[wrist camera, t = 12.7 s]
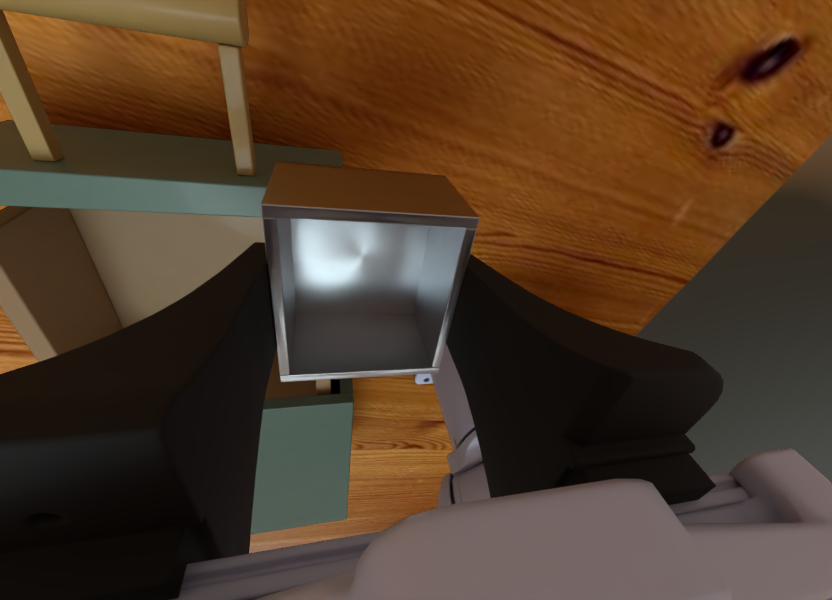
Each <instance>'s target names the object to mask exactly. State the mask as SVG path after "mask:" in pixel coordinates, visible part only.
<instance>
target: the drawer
mask: <svg viewBox="0 0 832 600" xmlns="http://www.w3.org/2000/svg"><path fill="white" fill-rule="evenodd" d="M2 10H6V11H12V12H19V13H25V14H32V15H38V16H45V17H51V18H58V19H64V20H70V21H77V22H83V23H90V24H96V25H103V26H109V27H116V28H122V29H128V30H135V31H141V32H148V33H154V34H161V35H167V36H174V37H180V38H186V39H193V40H199V41H206V42H212V43H219V45H218V53H219V59H220V66H221V72H222V79H223V85H224V92H225V98H226V105H227V111H228V118H229V124H230V131H231V137H232V141H228V140H217V139H207V138H196V137H185V136H175V135H164V134H154V133H143V132H132V131H122V130H111V129H101V128H90V127H79V126H69V125H58V124H50V121H49V119H48V117H47V114H46V112H45V110H44V107H43V105H42V102H41V100H40V98H39V95H38V93H37V91H36V88H35V86H34V84H33V81H32V79H31V76H30V74H29V72H28V69H27V67H26V65H25V62H24V60H23V58H22V55H21V53H20V51H19V48H18V46H17V43H16V41H15V39H14V36H13V34H12V32H11V29H10V27H9V25H8V22H7V20H6V17H5V15H4V13H3V11H2ZM248 39H249V31H248V19H247V11H246V6H245V1H244V0H0V93H1V95H2V97H3V99H4V101H5V103H6V105H7V107H8V109H9V111H10V114H11V116H12V118H13V120H6V121H2V122H0V205H2V206H7V207H5V208H4V209H2V210H0V307H1V308H2V310H3V311H4V312H5V314H6V315H7V317H8V318H9V320H10V321H11V323H12V324H13V325H14V327H15V328H16V330H17V331H18V333H19V334H20V336H21V337H22V339H23V340H24V341H25V343H26V344H27V346H28V347H29V349H30V350H31V352H32V353H33V354H34V356H35V357H36V359H37V360H38V362H40V361H43V360H46V359H49V358H52V357H54V356H57V355H60V354H62V353H65V352H68V351H71V350H73V349H76V348H79V347H81V346H84V345H86V344H89V343H91V342H94V341H96V340H98V339H101V338H103V337H106V336H108V335H110V334H113V333H115V332H117V331H119V330H121V329H123V328H125V327H128V326H130V325H132V324H134V323H136V322H138V321H140V320H142V319H145V318H147V317H149V316H151V315H153V314H155V313H157V312H158V311H160V310H162V309H164V308H166V307H167V306H169V305H171V304H173V303H174V302H176V301H178V300H179V299H181V298H183V297H184V296H186V295H187V294H189V293H191V292H192V291H194V290H195V289H196V288H198V287H199V286H201V285H202V284H203V283H205V282H206V281H208V280H209V279H210V278H212V277H213V276H215V275H216V274H217V273H219V272H220V271H221V270H222V269H224V268H225V267H226V266H227V265H229V264H230V263H231V262H232V261H233V260H235V259H236V258H237V257H238V256H239V255H240V254H242V253H243V252H244V251H245V250H246V249H247V248H249V247H250V246H251V245H252V244H253V243H255V242H264V243H265V240H264V232H263V223H262V214H261V202H262V200H263V197H264V194H265V191H266V189H267V186H268V183H269V181H270V178H271V175H272V172H273V170H274V167H275V164H276V161H287V162H298V163H309V164H320V165H331V166H342V167H344V166H343V159H342V152H341V151H334V150H323V149H313V148H302V147H292V146H281V145H270V144H260V143H253V136H252V128H251V120H250V111H249V103H248V95H247V86H246V78H245V70H244V62H243V53H242V48H241V47H247V45H248ZM330 394H331V379H327V380H309V381H292V382H281V381H280V374H279V365H278V356H277V347H276V351H275V355H274V360H273V364H272V368H271V372H270V377H269V381H268V385H267V389H266V395H265V399H275V398H289V397H303V396H316V395H330Z"/></svg>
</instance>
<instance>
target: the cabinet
mask: <svg viewBox="0 0 832 600" xmlns="http://www.w3.org/2000/svg"><path fill="white" fill-rule="evenodd" d="M353 405H354V400H353V387H352V378H344V379H331V394H330V395H316V396H303V397H289V398H275V399H265V400H264V406H263V414H262V422H261V431H260V440H259V449H258V458H257V468H256V478H255V489H254V499H253V510H252V522H251V534H256V533H263V532H269V531H275V530H282V529H288V528H294V527H300V526H307V525H313V524H319V523H325V522H332V521H338V520H344V519H347V506H348V489H349V473H350V456H351V439H352V422H353Z"/></svg>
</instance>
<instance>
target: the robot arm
mask: <svg viewBox="0 0 832 600" xmlns="http://www.w3.org/2000/svg"><path fill="white" fill-rule="evenodd" d="M275 351H276V338H275V329H274V321H273V312H272V303H271V294H270V285H269V276H268V267H267V258H266V249H265V243H264V242H255V243H253V244H252V245H251V246H250V247H249V248H247V249H246V250H245V251H244V252H243V253H242V254H240V255H239V256H238V257H237V258H236V259H235V260H233V261H232V262H231V263H230V264H229V265H227V266H226V267H225V268H224V269H222V270H221V271H220V272H219V273H217V274H216V275H215V276H213V277H212V278H210V279H209V280H208V281H206V282H205V283H203V284H202V285H201V286H199V287H198V288H196V289H195V290H194V291H192V292H191V293H189V294H187V295H186V296H184V297H183V298H181V299H179V300H178V301H176V302H174V303H173V304H171V305H169V306H167V307H166V308H164V309H162V310H160V311H158V312H157V313H155V314H153V315H151V316H149V317H147V318H145V319H142V320H140V321H138V322H136V323H134V324H132V325H130V326H128V327H125V328H123V329H121V330H119V331H117V332H115V333H113V334H110V335H108V336H106V337H103V338H101V339H98V340H96V341H94V342H91V343H89V344H86V345H84V346H81V347H79V348H76V349H73V350H71V351H68V352H65V353H62V354H60V355H57V356H54V357H52V358H49V359H46V360H43V361H40V362H37V363H35V364H31V365H28V366H25V367H22V368H19V369H16V370H12V371H9V372H6V373H3V374H0V600H832V483H831V482H830V481H828V480H827V479H826V478H825V477H824V476H823V475H822V474H821V473H819V472H818V471H817V470H816V469H815V468H814V467H813V466H812V465H811V464H809V463H808V462H807V461H806V460H805V459H804V458H803V457H802V456H800V455H799V454H798V453H797V452H796V451H795V450H794V449H789V448H785V449H779V450H773V451H766V452H760V453H756V454H753V455H751V456H749V457H747V458H745V459H744V460H742V461H741V462H740V463H738V464H737V465H736V466H735V467H733V468H732V469H731V472H730V473H725V474H719V475H713V476H708V475H707V474H706V473H705V472H704V471H703V470H702V469H701V467H700V466H699V465H698V464H697V463H696V462H695V460H694V459H693V458H692V457H691V456H690V455H689V453H692V452H693V451H694V450H695V445H694V444H693V443H692V442H691V441H690V440H689V438H688V437H687V436H686V435H685V433H686V432H687V431H688V430H689V429H690V428H691V427H692V426H693V425H695V424H696V423H697V421H699V420H700V419H701V418H702V416H704V415H705V414H706V413H707V412H708V410H710V409H711V407H712V406H713V405H714V404H715V403H716V401H717V400H718V399H719V397H720V395H721V393H722V389H723V378H722V377H721V375H720V374H719V373H718V372H717V371H716V370H715V369H714V368H713V367H712V366H710V365H709V364H708V363H707V362H706V361H705V360H703V359H702V358H701V357H700V356H698V355H697V354H695V353H693V352H691V351H687V350H683V349H679V348H675V347H672V346H668V345H664V344H659V343H656V342H652V341H648V340H644V339H641V338H638V337H635V336H632V335H629V334H625V333H622V332H619V331H616V330H613V329H610V328H608V327H605V326H602V325H599V324H597V323H594V322H592V321H589V320H587V319H584V318H582V317H579V316H577V315H574V314H572V313H570V312H568V311H565V310H563V309H561V308H559V307H557V306H555V305H553V304H551V303H549V302H547V301H545V300H543V299H541V298H539V297H537V296H536V295H534V294H532V293H530V292H529V291H527V290H525V289H524V288H522V287H520V286H519V285H517V284H515V283H514V282H512V281H511V280H509V279H507V278H506V277H504V276H503V275H501V274H500V273H498V272H497V271H495V270H494V269H492V268H491V267H489V266H488V265H486V264H485V263H483V262H482V261H480V260H479V259H477V258H476V257H474V256H473V255H471V254H470V257H469V260H468V264H467V268H466V271H465V275H464V279H463V282H462V286H461V290H460V294H459V297H458V301H457V305H456V308H455V312H454V316H453V319H452V323H451V327H450V331H449V334H448V338H447V342H446V345H445V349H444V353H443V356H442V360H441V364H440V367H439V371H438V373H432V374H415V377H414V379H415V382H416V383H417V384H429V383H433V385H434V388H435V391H436V394H437V398H438V401H439V404H440V407H441V411H442V414H443V417H444V420H445V424H446V427H447V430H448V433H449V437H450V440H451V443H452V446H453V450H454V451H453V452H452V453H450V454H448V455H447V459H448V462H449V466H450V470H451V473H449V474H446V475H445V476H444V477H443V479H442V481H441V487H440V492H439V497H438V506H439V508H437V509H433V510H429V511H426V512H422V513H418V514H415V515H411V516H409V517H407V518H405V519H403V520H402V521H400V522H398V523H396V524H394V525H392V526H391V527H389V528H387V529H385V530H383V531H380V532H374V533H368V534H362V535H356V536H351V537H345V538H339V539H333V540H327V541H321V542H315V543H309V544H303V545H297V546H291V547H285V548H279V549H273V550H267V551H262V552H256V553H250V554H249V546H250V534H251V522H252V510H253V499H254V489H255V478H256V468H257V458H258V449H259V440H260V431H261V422H262V414H263V406H264V400H265V395H266V389H267V385H268V381H269V377H270V372H271V368H272V364H273V360H274V355H275ZM425 378H426V379H425Z"/></svg>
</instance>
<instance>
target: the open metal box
mask: <svg viewBox="0 0 832 600" xmlns="http://www.w3.org/2000/svg"><path fill="white" fill-rule="evenodd" d="M261 214H262V223H263V232H264V240H265V249H266V258H267V267H268V276H269V285H270V294H271V303H272V312H273V321H274V329H275V338H276V347H277V356H278V365H279V374H280V381H281V382H292V381H309V380H327V379H344V378H362V377H379V376H397V375H415V374H432V373H438V371H439V367H440V364H441V360H442V356H443V353H444V349H445V345H446V342H447V338H448V334H449V331H450V327H451V323H452V319H453V316H454V312H455V308H456V305H457V301H458V297H459V294H460V290H461V286H462V282H463V279H464V275H465V271H466V268H467V264H468V260H469V257H470V253H471V249H472V245H473V242H474V238H475V234H476V231H477V229H476V228H477V227H478V223H479V220H480V217H479V216H478V215H477V214H476V212H475V211H474V210H473V209H472V208H471V206H470V205H469V204H468V203H467V202H466V200H465V199H464V198H463V197H462V196H461V194H460V193H459V192H458V191H457V190H456V188H455V187H454V186H453V185H452V184H451V182H450V181H449V180H448V179H447V178H446V176H440V175H429V174H418V173H407V172H396V171H385V170H374V169H364V168H353V167H342V166H331V165H320V164H309V163H298V162H287V161H276V164H275V167H274V170H273V172H272V175H271V178H270V181H269V183H268V186H267V189H266V191H265V194H264V197H263V200H262V202H261Z"/></svg>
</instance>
